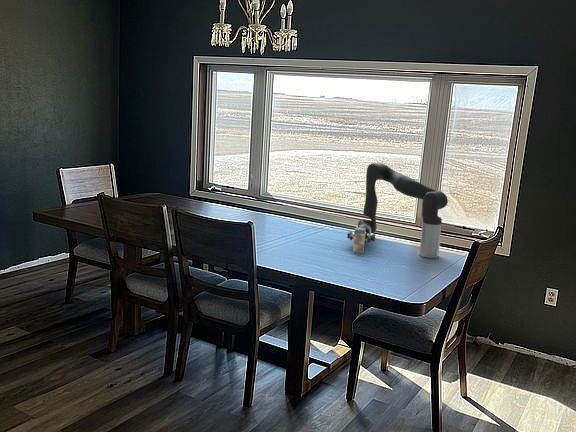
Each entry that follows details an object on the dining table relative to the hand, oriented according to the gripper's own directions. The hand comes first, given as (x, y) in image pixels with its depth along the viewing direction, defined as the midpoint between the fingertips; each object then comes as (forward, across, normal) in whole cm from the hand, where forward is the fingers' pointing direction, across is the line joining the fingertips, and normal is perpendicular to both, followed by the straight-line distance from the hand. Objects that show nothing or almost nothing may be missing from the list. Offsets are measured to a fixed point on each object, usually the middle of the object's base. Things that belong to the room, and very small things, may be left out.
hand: (359, 239), depth 301 cm
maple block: (+2, 0, +6) cm, 6 cm away
